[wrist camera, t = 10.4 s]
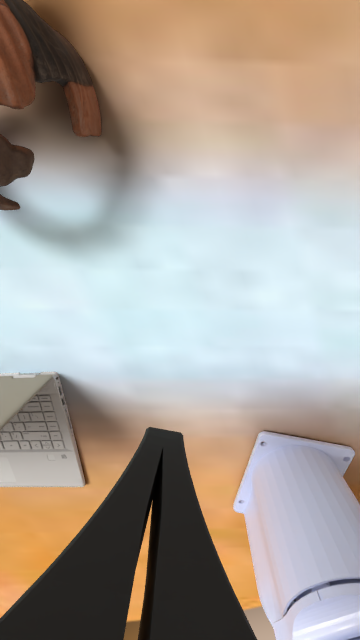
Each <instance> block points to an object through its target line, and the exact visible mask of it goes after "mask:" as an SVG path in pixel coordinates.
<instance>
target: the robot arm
mask: <svg viewBox="0 0 360 640" xmlns="http://www.w3.org/2000/svg"><path fill="white" fill-rule="evenodd" d="M261 442H263V443H261ZM354 455H355V452H354V450H353V449H352V448H351V447H348V446H343V445H337V444H332V443H327V442H321V441H316V440H310V439H305V438H299V437H294V436H288V435H283V434H277V433H272V432H266V431H263V432H260V433H259V435H258V437H257V440H256V443H255V445H254V448H253V451H252V454H251V457H250V459H249V462H248V465H247V468H246V470H245V473H244V476H243V479H242V482H241V484H240V487H239V490H238V493H237V495H236V498H235V501H234V504H233V508H234V511H236V512H238V513H244V516H245V522H246V527H247V533H248V539H249V544H250V550H251V555H252V561H253V567H254V572H255V578H256V583H257V589H258V593H259V597H260V601H261V604H262V606H263V609H264V611H265V613H266V616H267V618H268V619H269V621H270V623H271V625H272V626H273V628H274V632H275V638H276V640H360V504H359V502H358V501H357V499H356V497H355V496H354V494H353V492H352V491H351V489H350V488H349V486H348V484H347V483H346V481H345V480H344V478H343V475H344V474H345V472H346V470H347V468H348V466H349V464H350V463H351V461H352V459H353V457H354ZM152 500H153V502H152ZM151 504H152V514H151V526H150V538H149V550H148V562H147V574H146V584H145V593H144V601H143V608H142V615H141V621H140V628H139V635H138V640H257V639H256V637H255V635H254V632H253V630H252V628H251V626H250V624H249V622H248V620H247V618H246V616H245V614H244V611H243V609H242V607H241V605H240V603H239V601H238V599H237V597H236V595H235V593H234V591H233V589H232V586H231V584H230V582H229V580H228V577H227V575H226V573H225V570H224V568H223V566H222V563H221V561H220V559H219V556H218V554H217V551H216V549H215V546H214V544H213V541H212V539H211V536H210V534H209V531H208V528H207V525H206V523H205V520H204V517H203V514H202V511H201V508H200V505H199V502H198V499H197V496H196V492H195V489H194V485H193V482H192V478H191V475H190V471H189V467H188V463H187V458H186V453H185V448H184V441H183V435H182V434H181V433H179V432H174V431H168V430H163V429H157V428H152V427H149V428H147V429H146V432H145V435H144V437H143V439H142V441H141V443H140V445H139V447H138V449H137V451H136V453H135V454H134V456H133V458H132V459H131V461H130V463H129V464H128V466H127V468H126V469H125V471H124V472H123V474H122V475H121V477H120V478H119V480H118V481H117V483H116V484H115V486H114V487H113V488H112V490H111V491H110V493H109V494H108V496H107V497H106V498H105V500H104V501H103V502H102V504H101V505H100V506H99V508H98V509H97V510H96V512H95V513H94V514H93V516H92V517H91V518H90V519H89V521H88V522H87V523H86V524H85V526H84V527H83V528H82V529H81V531H80V532H79V533H78V534H77V535H76V537H75V538H74V539H73V540H72V541H71V542H70V543H69V545H68V546H67V547H66V548H65V549H64V550H63V552H62V553H61V554H60V555H59V556H58V557H57V559H56V560H55V561H54V562H53V563H52V564H51V565H50V566H49V568H48V569H47V570H46V571H45V572H44V573H43V574H42V575H41V576H40V577H39V578H38V579H37V580H36V581H35V582H34V584H33V585H32V586H31V587H30V588H29V589H28V590H27V591H26V592H25V593H24V594H23V595H22V596H21V597H20V598H19V599H18V600H17V601H16V602H15V604H14V605H13V606H12V607H11V608H10V609H9V610H8V611H7V612H6V613H5V614H4V615H3V616H2V617H1V618H0V640H123V638H124V632H125V627H126V621H127V615H128V609H129V604H130V598H131V592H132V586H133V581H134V575H135V569H136V565H137V561H138V557H139V553H140V549H141V545H142V541H143V537H144V533H145V529H146V524H147V520H148V516H149V512H150V508H151Z"/></svg>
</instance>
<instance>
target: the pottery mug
mask: <svg viewBox="0 0 360 640" xmlns="http://www.w3.org/2000/svg"><path fill="white" fill-rule="evenodd" d="M35 81H36V82H40V83H43V82H51V81H55V82H57V83H59V84H60V85H62V86H63V89H64V92H65V96H66V99H67V102H68V107H69V110H70V116H71V121H72V128H73V132H74V133H75V134H76V135H77V136H80V137H88V136H89V135H91V136H100V134H101V116H100V111H99V104H98V100H97V97H96V93H95V90H94V88H93V84H92V80H91V78H90V75H89V73H88V71H87V69H86V67H85V65H84V62H83V61H82V59H81V57H80V56H79V55H78V53H77V52H76V50H75V49H74V47H73V46H72V45H71V44H70V43H69V42H68V41H67V40H66V38H64V37H63V36H62V35H61V34H59V33H58V32H57V31H55V30H54V29H52V28H51V27H50V26H49V25H48V24H47V23H46V22H45V21H44V20H42V19H41V18H40V17H39V16H38V15H37V14H36V12H35V11H34V10H33V9H32V8H31V7H30V6H29V5H28V4H27V3H26V2H24V1H23V0H0V105H4V106H8V107H11V108H14V109H23V108H24V107H25V106H28V105H30V104H31V103H32V102H33V101H34V99H35V90H36V87H35ZM33 163H34V154H33V152H32V151H31V150H30V149H28V148H25V147H21V146H17V145H12V144H11V143H10V142H9V141H8V140H7V139H6V138H5V137H4V136H2V135H1V134H0V187H1V186H6V185H8V184H10V183H11V182H13V181H14V180H15V179H17V178H21V177H26V176H28V175H29V174H30V172H31V170H32V166H33ZM18 209H20V205H19V204H18V203H17V202H14V201H12V200H9V199H7V198H5V197H3V196H2V195H1V194H0V210H18Z"/></svg>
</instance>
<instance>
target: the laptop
mask: <svg viewBox="0 0 360 640" xmlns="http://www.w3.org/2000/svg"><path fill="white" fill-rule="evenodd" d="M83 486H85V479H84V475H83V471H82V467H81V462H80V458H79V454H78V450H77V445H76V441H75V437H74V433H73V428H72V424H71V420H70V416H69V412H68V408H67V404H66V401H65V397H64V393H63V389H62V386H61V382H60V378H59V374H58V373H57V372H41V373H23V374H20V373H0V487H83Z"/></svg>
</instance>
